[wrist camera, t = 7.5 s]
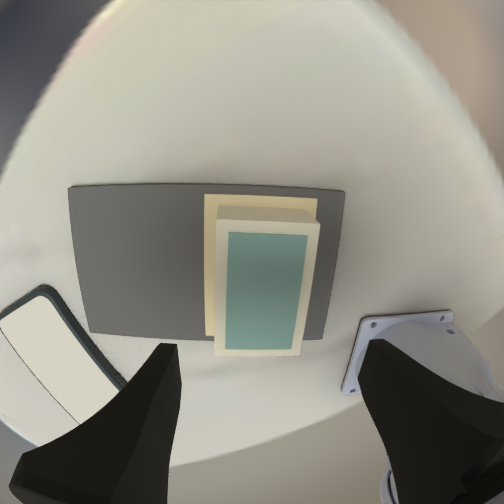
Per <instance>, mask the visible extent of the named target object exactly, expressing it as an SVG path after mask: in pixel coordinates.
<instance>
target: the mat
mask: <svg viewBox="0 0 504 504" xmlns="http://www.w3.org/2000/svg"><path fill="white" fill-rule="evenodd" d="M68 200H69V212H70V222H71V231H72V240H73V247H74V254H75V261H76V267H77V273H78V279H79V284H80V290H81V295H82V299H83V304H84V309H85V313H86V318H87V322H88V326H89V330H90V332H91V333H100V334H110V335H121V336H132V337H145V338H160V339H178V340H204V341H214V313H215V248H216V218H217V212H218V205H225V206H249V207H269V208H287V209H303V210H306V211H307V212H308V213H309V214H310V215H311V216H312V217H313V218H314V219H316V220H317V221H318V222H319V223H320V231H319V239H318V246H317V253H316V260H315V267H314V274H313V280H312V287H311V293H310V299H309V305H308V311H307V317H306V323H305V328H304V334H303V339H302V340H318V339H322V337H323V332H324V327H325V322H326V317H327V312H328V307H329V301H330V296H331V290H332V284H333V278H334V272H335V266H336V260H337V253H338V247H339V240H340V232H341V225H342V217H343V209H344V201H345V192H344V191H339V190H327V189H314V188H299V187H283V186H263V185H238V184H184V183H166V184H114V185H90V186H72V187H69V188H68Z"/></svg>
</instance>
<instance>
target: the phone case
mask: <svg viewBox="0 0 504 504" xmlns="http://www.w3.org/2000/svg"><path fill="white" fill-rule="evenodd" d="M0 330H1V332H2V333H3V335H4V336H5V338H6V339H7V340H8V342H9V343H10V345H11V346H12V347H13V349H14V350H15V351H16V353H17V354H18V355H19V357H20V358H21V359H22V361H23V362H24V363H25V365H26V366H27V367H28V368H29V370H30V371H31V372H32V373H33V375H34V376H35V377H36V378H37V379H38V381H39V382H40V383H41V384H42V385H43V386H44V388H45V389H46V390H47V391H48V392H49V393H50V394H51V395H52V397H53V398H54V399H55V400H56V401H57V402H58V403H59V404H60V405H61V406H62V407H63V408H64V409H65V410H66V411H67V412H68V413H69V414H70V415H71V416H72V417H73V418H74V419H75V420H76V421H77V422H78V423H79V424H82V423H83V422H85V421H86V420H87V419H89V418H90V417H91V416H93V415H94V414H95V413H96V412H98V411H99V410H100V409H101V408H102V407H104V406H105V405H106V404H107V403H108V402H109V401H110V400H111V399H112V398H113V397H114V396H115V395H116V394H117V393H118V392H119V391H120V390H121V389H122V388H123V387H124V386H125V385H126V384H127V382H126V381H125V380H124V379H123V378H122V377H121V376H120V374H119V373H118V372H117V371H116V370H115V369H114V367H113V366H112V365H111V364H110V363H109V361H108V360H107V359H106V358H105V356H104V355H103V354H102V353H101V351H100V350H99V349H98V348H97V346H96V345H95V344H94V342H93V341H92V340H91V339H90V337H89V336H88V335H87V333H86V332H85V331H84V329H83V328H82V326H81V325H80V324H79V322H78V321H77V320H76V318H75V317H74V315H73V314H72V312H71V311H70V310H69V308H68V307H67V305H66V304H65V302H64V301H63V299H62V298H61V296H60V295H59V293H58V292H57V291H56V290H55V289H54V288H53V287H51V286H48V285H41V286H39V287H38V288H36V289H34V290H33V291H31V292H30V293H28V294H27V295H25V296H24V297H22V298H21V299H19V300H18V301H16V302H15V303H13V304H12V305H10V306H9V307H7V308H6V309H4V310H3V311H2V312H1V313H0Z"/></svg>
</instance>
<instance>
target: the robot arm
mask: <svg viewBox="0 0 504 504" xmlns="http://www.w3.org/2000/svg"><path fill="white" fill-rule="evenodd" d="M453 318H454V313H453V312H452V311H451V310H449V311H440V312H430V313H419V314H408V315H395V316H382V317H367V318H365V319H363V320H362V321H361V324H360V328H359V331H358V335H357V339H356V342H355V346H354V349H353V353H352V356H351V360H350V363H349V366H348V370H347V373H346V376H345V379H344V382H343V386H342V389H341V392H342V394H343V395H350V394H357V393H362V396H363V399H364V401H365V404H366V406H367V408H368V410H369V412H370V415H371V417H372V419H373V421H374V423H375V425H376V428H377V429H378V432H379V434H380V436H381V438H382V441H383V443H384V446H385V448H386V451H387V456H385V460H386V463H387V465H388V467H389V469H388V470H387V471H385V473H384V474H383V475H382V478H381V483H380V499H381V504H504V389H503V388H502V387H501V386H500V385H499V384H494V375H493V371H492V368H491V365H490V363H489V361H488V360H487V359H486V357H485V356H484V355H483V354H482V353H481V352H480V351H479V350H478V349H477V348H476V347H475V345H474V344H473V343H472V342H470V340H469V339H468V338H467V337H466V336H465V335H464V334H463V333H462V332H461V331H460V330H459V329H458V328H457V327H456V326H455V325H454V324H453V323H452V320H453ZM373 322H375V323H374V324H373V325H371V324H372V323H373ZM181 387H182V383H181V375H180V367H179V358H178V349H177V344H169V343H160V344H159V345H158V346H157V347H156V348H155V350H154V351H153V352H152V354H151V355H150V356H149V358H148V359H147V360H146V362H145V363H144V364H143V365H142V367H141V368H140V369H139V370H138V371H137V373H136V374H135V375H134V376H133V377H132V379H131V380H130V381H129V382H128V383H127V384H126V385H125V386H124V387H123V388H122V389H121V390H120V391H119V392H118V393H117V394H116V395H115V396H114V397H113V398H112V399H111V400H110V401H109V402H108V403H107V404H106V405H105V406H104V407H102V408H101V409H100V410H99V411H98V412H96V413H95V414H94V415H93V416H91V417H90V418H89V419H87V420H86V421H85V422H83V423H82V424H80V425H79V426H77V427H76V428H74V429H73V430H71V431H69V432H68V433H66V434H64V435H63V436H61V437H59V438H57V439H55V440H53V441H51V442H49V443H47V444H45V445H43V446H40V447H38V448H36V449H33V450H31V451H28V452H26V453H23V454H22V456H21V458H20V460H19V462H18V464H17V466H16V469H15V471H14V474H13V476H12V479H11V481H10V484H9V488H10V490H11V492H12V494H13V495H14V496H15V497H16V498H17V499H19V500H20V501H21V502H22V503H23V504H167V493H168V473H169V462H170V455H171V450H172V445H173V440H174V434H175V430H176V425H177V419H178V415H179V409H180V400H181ZM0 504H1V503H0Z"/></svg>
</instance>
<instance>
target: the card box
mask: <svg viewBox="0 0 504 504" xmlns="http://www.w3.org/2000/svg"><path fill="white" fill-rule="evenodd" d="M319 231H320V223H319V222H318V221H317V220H316V219H314V218H313V217H312V216H311V215H310V214H309V213H308V212H307V211H306V210H303V209H287V208H269V207H249V206H225V205H218V212H217V218H216V248H215V313H214V353H215V356H297V355H300V350H301V344H302V339H303V334H304V328H305V323H306V317H307V311H308V305H309V299H310V293H311V287H312V280H313V274H314V267H315V260H316V253H317V246H318V239H319Z"/></svg>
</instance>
